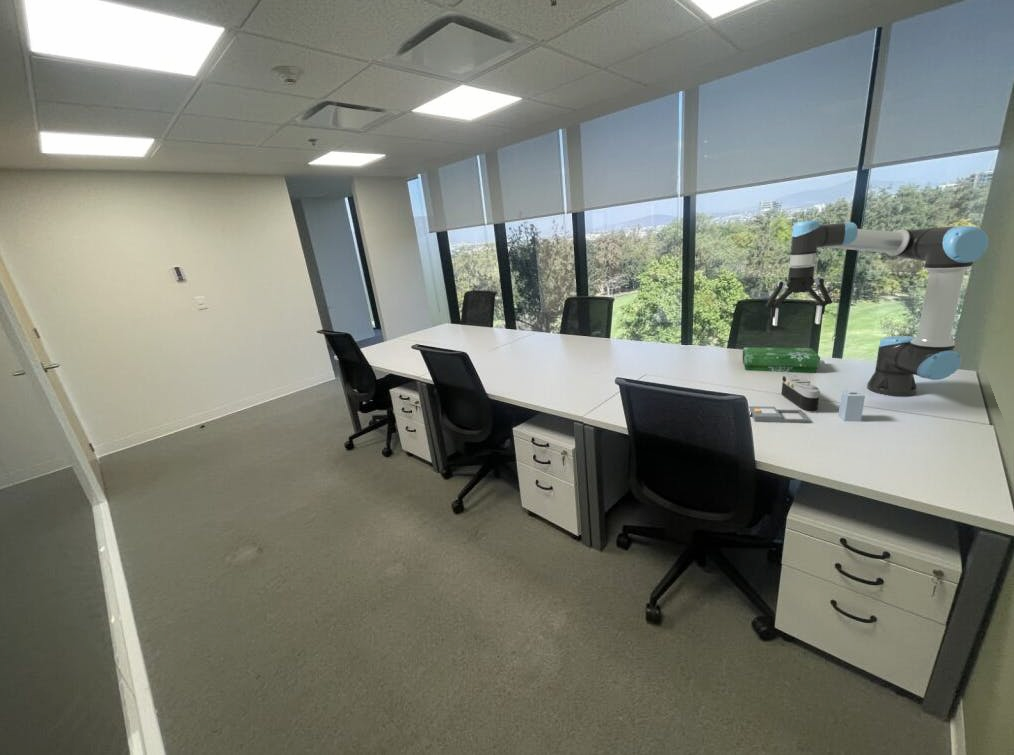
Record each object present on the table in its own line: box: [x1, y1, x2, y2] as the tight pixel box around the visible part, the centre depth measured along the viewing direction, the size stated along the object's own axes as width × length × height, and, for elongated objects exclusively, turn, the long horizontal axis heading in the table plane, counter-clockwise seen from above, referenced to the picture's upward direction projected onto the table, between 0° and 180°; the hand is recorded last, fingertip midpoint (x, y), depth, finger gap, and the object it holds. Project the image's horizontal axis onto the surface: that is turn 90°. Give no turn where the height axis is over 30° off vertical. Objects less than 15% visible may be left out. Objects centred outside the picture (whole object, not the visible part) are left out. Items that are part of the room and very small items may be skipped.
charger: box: [838, 390, 866, 422], centre depth 149 cm, size 5×5×10 cm
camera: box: [781, 372, 821, 414], centre depth 167 cm, size 22×10×10 cm, turn 171°
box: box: [742, 347, 821, 374], centre depth 208 cm, size 32×18×10 cm, turn 63°
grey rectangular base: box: [748, 405, 811, 424], centre depth 158 cm, size 21×10×3 cm, turn 72°
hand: (795, 324), depth 152 cm, fingers open, 13 cm apart
